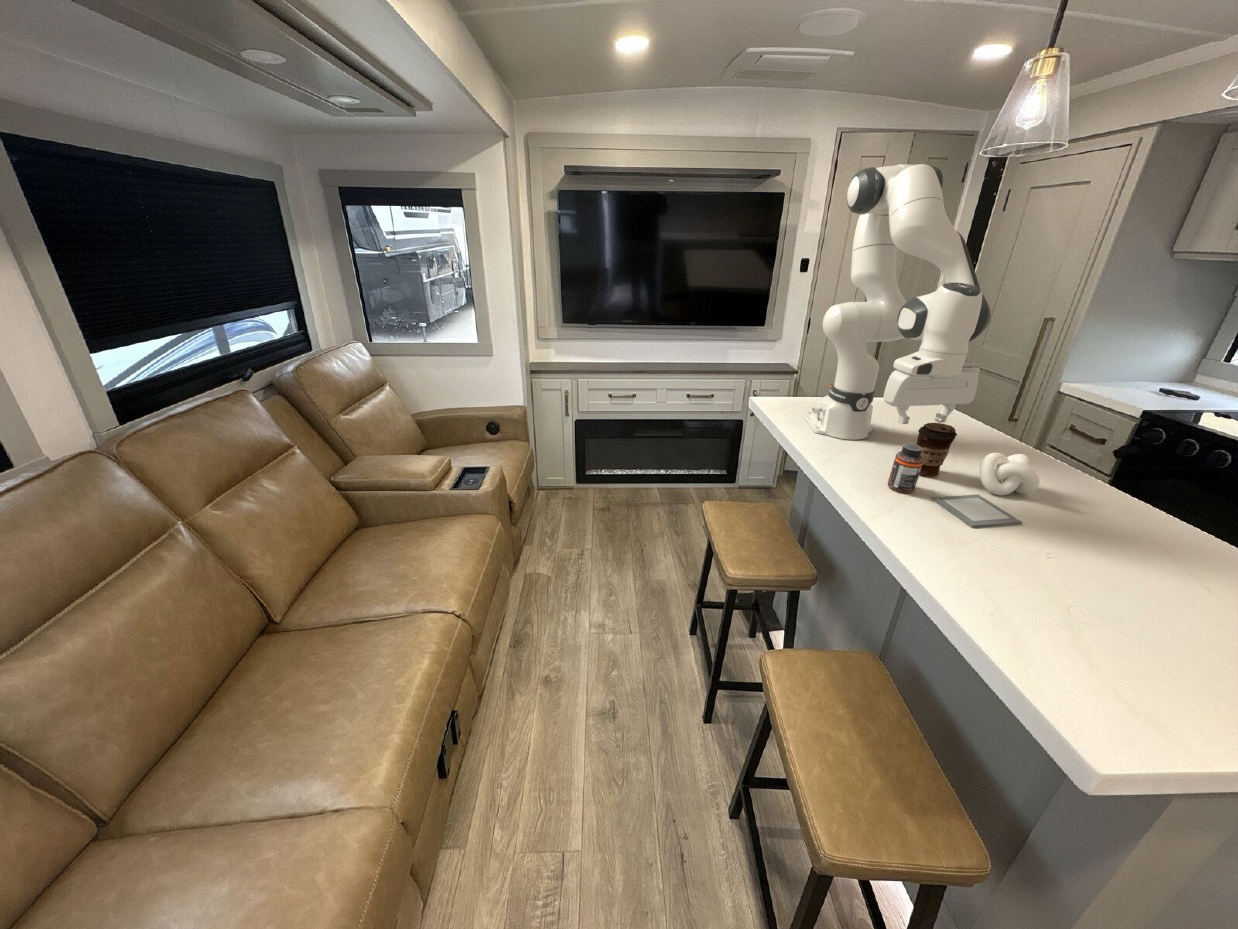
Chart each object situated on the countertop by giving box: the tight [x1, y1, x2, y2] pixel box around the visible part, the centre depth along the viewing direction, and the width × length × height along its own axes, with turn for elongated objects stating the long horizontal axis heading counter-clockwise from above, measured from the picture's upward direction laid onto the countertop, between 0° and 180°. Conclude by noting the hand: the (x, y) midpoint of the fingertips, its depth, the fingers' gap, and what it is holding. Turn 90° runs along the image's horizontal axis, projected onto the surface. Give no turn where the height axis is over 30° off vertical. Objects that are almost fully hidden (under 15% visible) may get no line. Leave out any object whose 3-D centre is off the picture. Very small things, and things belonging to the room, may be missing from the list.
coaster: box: [931, 493, 1023, 529], centre depth 110 cm, size 12×12×1 cm
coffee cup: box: [915, 422, 958, 478], centre depth 124 cm, size 9×8×13 cm
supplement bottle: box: [887, 443, 924, 494], centre depth 117 cm, size 6×6×11 cm
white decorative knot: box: [979, 452, 1041, 496], centre depth 118 cm, size 11×12×9 cm
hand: (921, 422), depth 112 cm, fingers open, 8 cm apart
